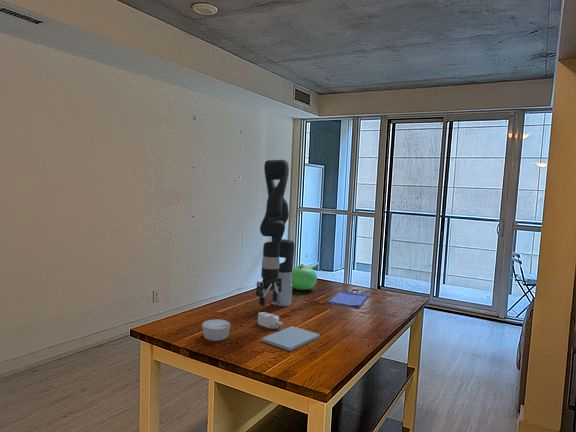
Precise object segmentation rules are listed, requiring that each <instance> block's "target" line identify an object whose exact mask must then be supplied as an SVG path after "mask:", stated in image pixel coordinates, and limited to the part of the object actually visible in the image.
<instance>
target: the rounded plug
mask: <svg viewBox="0 0 576 432" xmlns="http://www.w3.org/2000/svg"><path fill="white" fill-rule="evenodd" d="M257 325H259V326H261V327H265V328H267V329H271V330H276V329H279V327H282V326H284V322H282V321H280V316H278V315H276V314H273V313H269V312H265V311H263V312H262V311H261V312H258V314H257Z"/></svg>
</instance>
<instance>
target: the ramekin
mask: <svg viewBox="0 0 576 432" xmlns="http://www.w3.org/2000/svg"><path fill="white" fill-rule="evenodd" d="M201 327H202V335H203V337H204V338H205V339H206V340H208V341H210V342H211V341H212V342H219V341H224V340H226V339H227V338H228V337H229V334H230V328H231V322H230V321H227V320H224V319H218V318H216V319H208V320H205V321H203V322H202V324H201Z"/></svg>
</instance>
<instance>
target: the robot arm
mask: <svg viewBox="0 0 576 432" xmlns="http://www.w3.org/2000/svg"><path fill="white" fill-rule="evenodd" d="M263 165H264V169H263V170H264V176H265V184H266V190H267V196H268V197H267V200H266V207H265V208H266V210H265V214H264V217H263V218H262V220H261V223H260V225H259V232H260V234H261V236H263V237H271V241H266V242H264V243H263V245H262V246H263V248H262V259H261V274H260V275H261V278H262V280H261V281H256V289H255V295H256V296H257V297H259V301H258V304H259V306H261V307H264V306H265V303H266V295H267V293H269V291H271V292H272V299H271V300H272V305H274V306H276V307H289V306H291V304H292V302H293V301H292V299H293V288H292V268H293V266H294V256H295V255H294V254H295V242H294V240H291V239H283V237H284V234H285V231H286V223H287V221H288V219H289V216H290V215H289V204H288V202H287V200H286V198H285V193H286V188H287V183H288V179H289V174H290V171H289V170H290V167H289V162H288V161H287V160H286V159H267V160H266V161H265V162H264V164H263ZM277 180H279V182H278V184H277V185H276V183H275V182H274V181H277ZM280 258H283V259H284V261H283V262H281V261H280Z"/></svg>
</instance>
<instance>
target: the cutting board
mask: <svg viewBox="0 0 576 432" xmlns="http://www.w3.org/2000/svg"><path fill="white" fill-rule="evenodd" d="M320 336H321V334H319V333H316V332H313V331H310V330H307V329H302V328H300V327H296V326H293V325H291V326H289V327H286V328H284V329H281V330H279V331H277V332H274V333H272V334H268V335H266V336H264V337H262V338H261V342H263V343H265V344H269V345H272V346H274V347H277V348H280V349H283V350H286V351H289V352H292V351H293V350H296V349H298V348H300V347H302V346H304V345H307V344H309V343H310V342H313V341H314V340H315V341H316V340H318V339H319V338H320Z"/></svg>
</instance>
